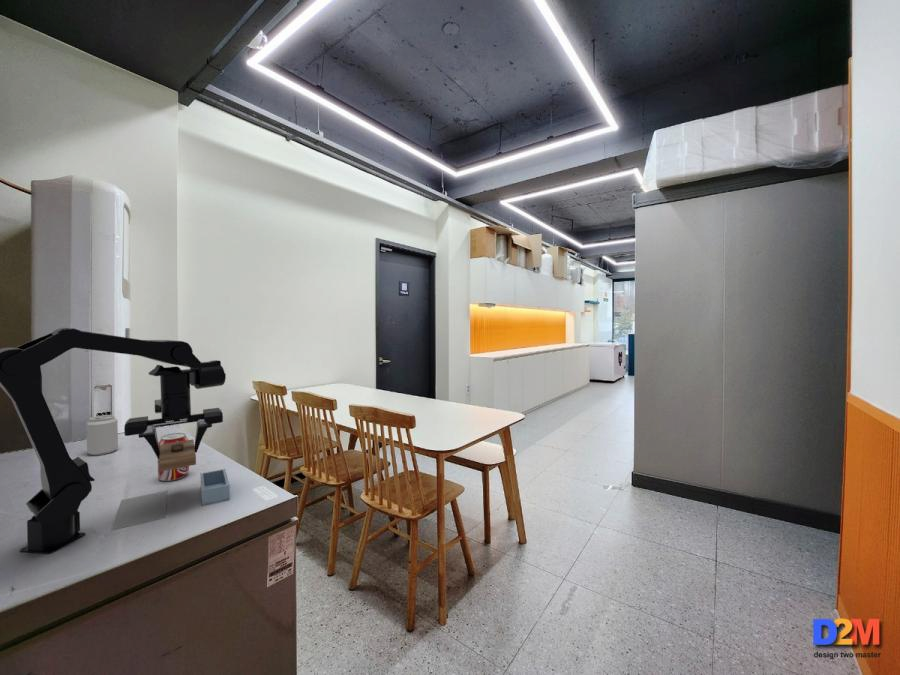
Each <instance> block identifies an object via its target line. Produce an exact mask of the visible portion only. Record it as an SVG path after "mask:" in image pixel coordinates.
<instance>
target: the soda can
mask: <svg viewBox="0 0 900 675" xmlns="http://www.w3.org/2000/svg"><path fill="white" fill-rule="evenodd" d="M187 440H189V439H188V437H187V434H186V433H184V432H174V433H168V434H165V435H161V437H160V440H159V441H158V443H159V448H160V447H161V445H162V444H168V443H174V442H180V441H187ZM189 471H190V466H186V467H181V468H176V469H171V470H166V471H160V472H159V459H158V458H157V476H158V480H160V481H164V482H171V481H177V480H180V479H183V478H184V477H186V476H188V474H189Z"/></svg>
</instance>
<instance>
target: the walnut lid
mask: <svg viewBox="0 0 900 675" xmlns="http://www.w3.org/2000/svg"><path fill="white" fill-rule="evenodd" d="M196 454H197V453H195V439H188V440H187V441H180V442H174V443H168V444H162V445H161V447H160V456H159V472H160V471H166V470H171V469H176V468H181V467H186V466H189V467H190V466H191V467H192V466H196V465H197V455H196Z"/></svg>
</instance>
